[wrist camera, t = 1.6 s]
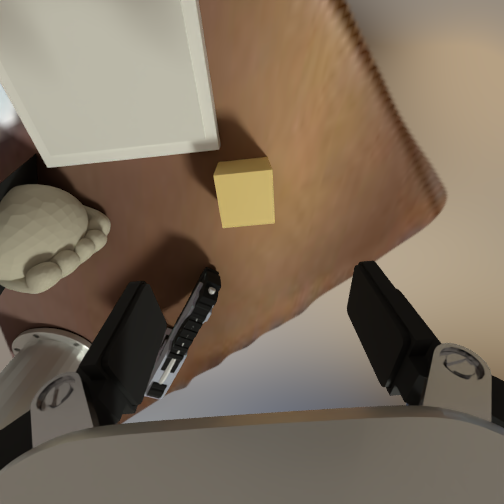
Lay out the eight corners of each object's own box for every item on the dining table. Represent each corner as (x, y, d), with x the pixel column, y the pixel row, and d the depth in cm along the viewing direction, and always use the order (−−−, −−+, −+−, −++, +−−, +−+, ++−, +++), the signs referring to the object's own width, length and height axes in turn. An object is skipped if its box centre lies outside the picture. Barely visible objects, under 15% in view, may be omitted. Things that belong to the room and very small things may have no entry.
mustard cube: (269, 203, 27) (274, 223, 23) (225, 207, 27) (222, 228, 23) (267, 156, 24) (272, 169, 20) (218, 161, 24) (213, 175, 20)
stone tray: (220, 145, 23) (218, 149, 21) (61, 162, 24) (46, 168, 22) (177, -138, 14) (167, -171, 13) (-76, -103, 15) (-121, -131, 13)
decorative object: (119, 175, 27) (110, 243, 31) (-3, 143, 22) (8, 229, 27) (99, 239, 18) (91, 320, 22) (-114, 207, 13) (-67, 319, 18)
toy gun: (219, 259, 36) (225, 292, 26) (169, 350, 39) (158, 410, 29) (205, 252, 35) (205, 284, 25) (155, 345, 39) (138, 405, 29)
